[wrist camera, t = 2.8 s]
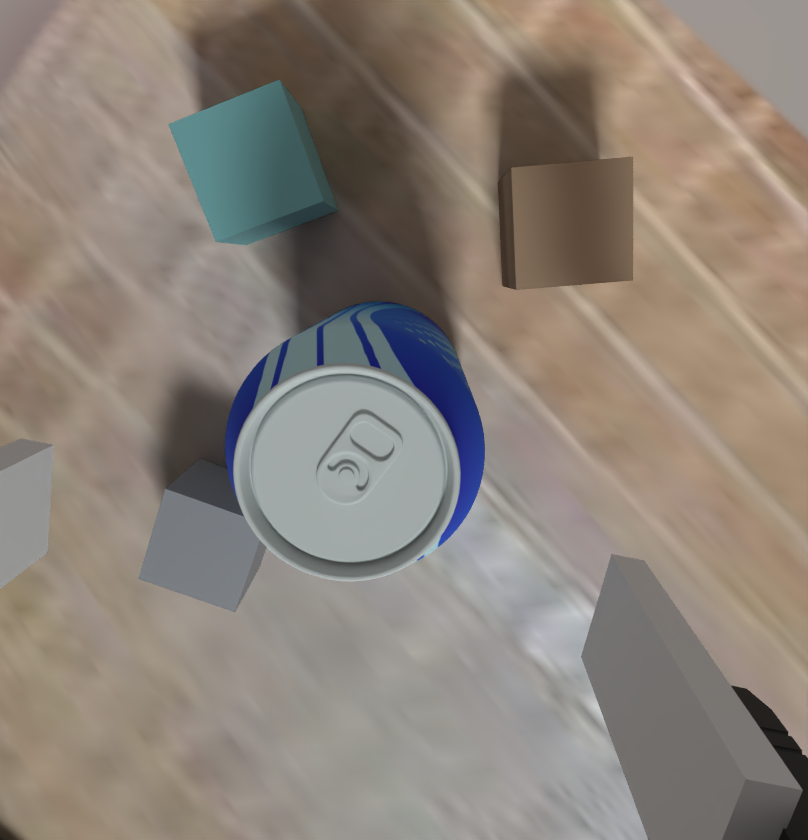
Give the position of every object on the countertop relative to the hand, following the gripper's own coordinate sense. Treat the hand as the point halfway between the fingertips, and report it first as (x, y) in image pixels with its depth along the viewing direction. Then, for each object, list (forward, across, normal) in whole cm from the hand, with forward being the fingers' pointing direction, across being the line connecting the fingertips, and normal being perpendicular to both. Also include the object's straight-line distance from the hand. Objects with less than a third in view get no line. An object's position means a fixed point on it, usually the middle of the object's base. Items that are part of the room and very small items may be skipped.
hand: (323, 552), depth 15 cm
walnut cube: (+20, +7, +9) cm, 23 cm away
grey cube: (+20, -7, -9) cm, 23 cm away
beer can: (+20, 0, 0) cm, 20 cm away
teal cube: (+20, -7, +9) cm, 23 cm away
